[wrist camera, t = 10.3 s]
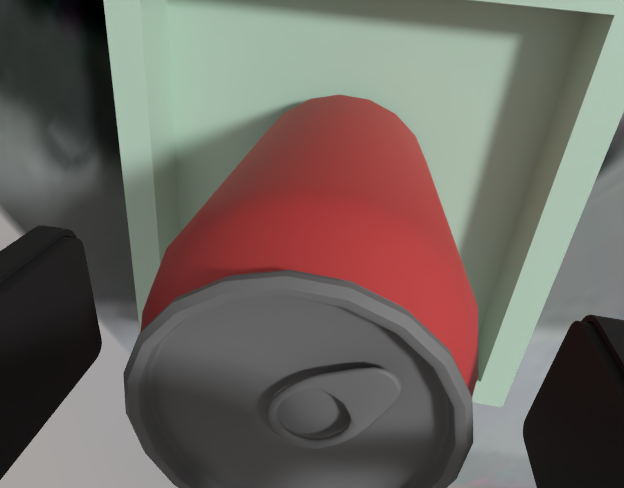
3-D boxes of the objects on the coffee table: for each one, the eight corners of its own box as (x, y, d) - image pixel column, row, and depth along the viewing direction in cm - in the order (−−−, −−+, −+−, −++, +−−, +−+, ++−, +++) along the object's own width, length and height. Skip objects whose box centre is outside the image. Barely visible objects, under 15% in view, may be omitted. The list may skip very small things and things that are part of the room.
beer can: (458, 201, 18) (589, 492, 7) (320, 280, 20) (262, 588, 9) (362, 51, 16) (344, 142, 5) (221, 158, 18) (5, 375, 7)
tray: (140, -74, 16) (93, -88, 13) (632, -27, 14) (682, -33, 12) (167, 307, 23) (141, 343, 21) (489, 362, 22) (502, 407, 19)
